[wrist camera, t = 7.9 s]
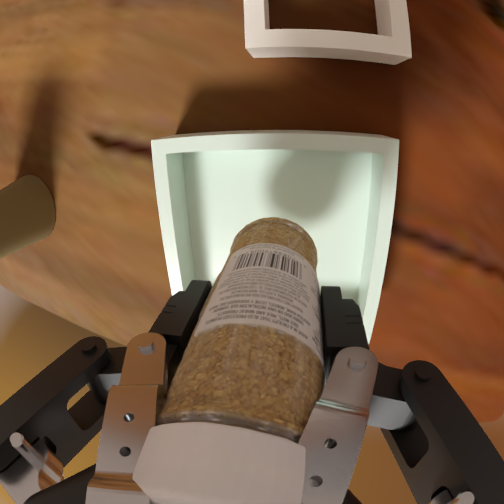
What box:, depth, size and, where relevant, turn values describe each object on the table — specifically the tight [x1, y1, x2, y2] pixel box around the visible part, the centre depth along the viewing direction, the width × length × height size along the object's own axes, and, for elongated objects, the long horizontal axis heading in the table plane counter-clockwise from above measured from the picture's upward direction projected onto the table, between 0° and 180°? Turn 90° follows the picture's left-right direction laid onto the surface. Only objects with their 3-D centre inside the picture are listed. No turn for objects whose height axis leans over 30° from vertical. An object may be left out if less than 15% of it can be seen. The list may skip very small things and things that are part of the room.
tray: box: [151, 130, 399, 344], centre depth 18 cm, size 13×13×4 cm
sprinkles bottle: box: [132, 217, 325, 504], centre depth 10 cm, size 5×5×13 cm
